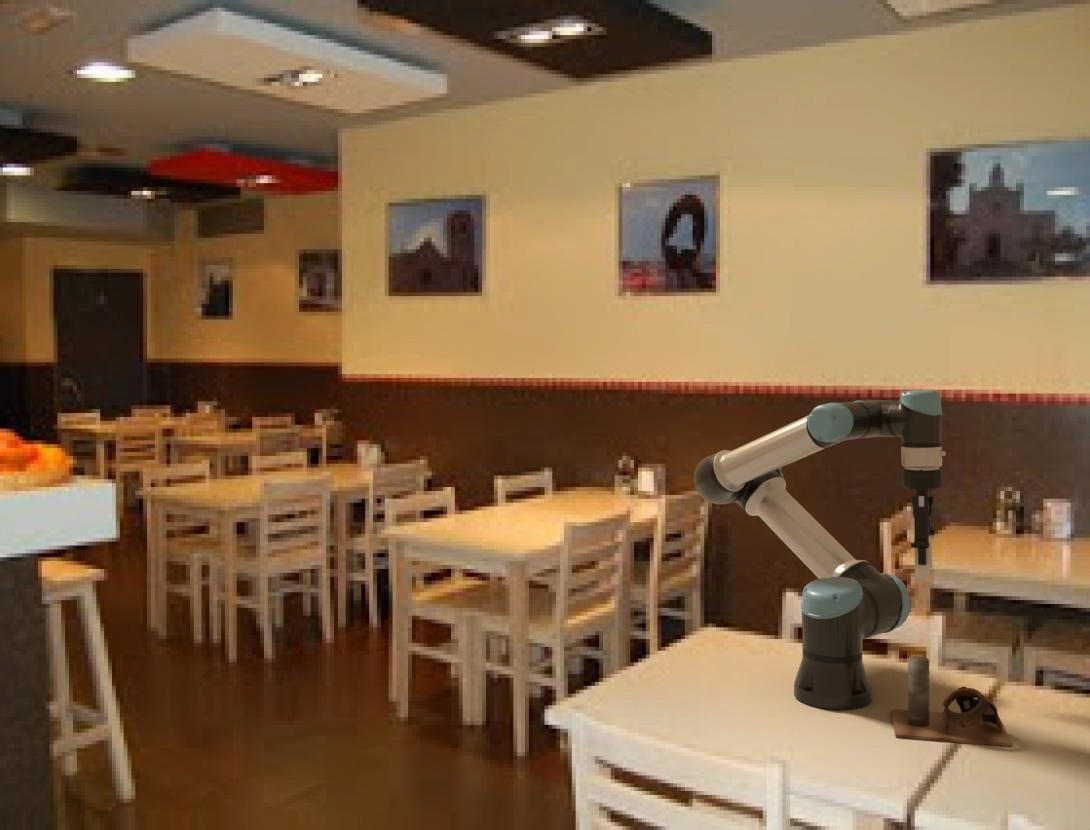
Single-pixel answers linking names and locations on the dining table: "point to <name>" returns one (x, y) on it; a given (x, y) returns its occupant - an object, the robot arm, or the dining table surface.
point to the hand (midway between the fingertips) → (923, 574)
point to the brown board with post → (936, 715)
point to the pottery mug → (970, 709)
